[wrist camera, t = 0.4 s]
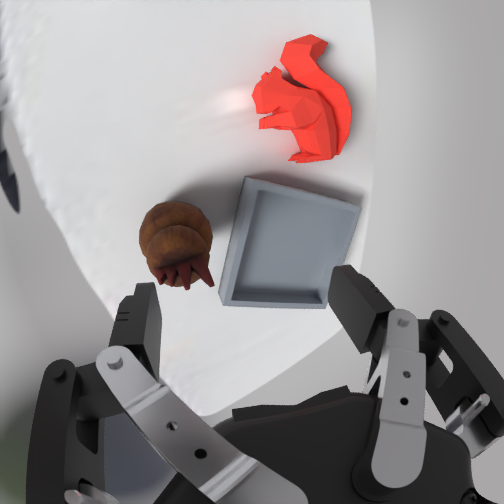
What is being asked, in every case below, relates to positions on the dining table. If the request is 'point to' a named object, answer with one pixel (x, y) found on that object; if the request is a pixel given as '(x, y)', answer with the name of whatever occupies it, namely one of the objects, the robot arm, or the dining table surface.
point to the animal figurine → (305, 102)
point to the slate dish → (285, 246)
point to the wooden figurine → (177, 244)
